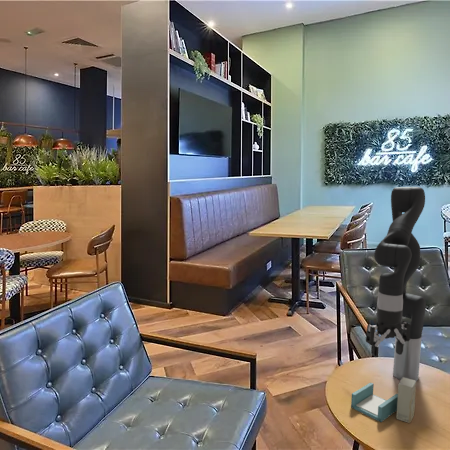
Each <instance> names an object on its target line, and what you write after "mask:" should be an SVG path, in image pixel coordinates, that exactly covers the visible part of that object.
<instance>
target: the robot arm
mask: <svg viewBox="0 0 450 450" xmlns="http://www.w3.org/2000/svg"><path fill="white" fill-rule="evenodd" d="M425 193H426V192H425V190H424V188H422V187H420V186H400V187H399V186H398V187H394V188H393V189H392V190H391V194H390V207H391V216H392V217H391V218H392V222H391V223H390V225H389V226H388V227H389V228H388V230H387V232H386V233H387V234H386V235H385V237H384V238H383V239H382V240H381V241H380V242H379V243H378V244H377V246H376V248H375V249H374V255H373V256H374V257H373V258H374V261H375V262H376V263H377V264H378V265H379V266H383V267H390V268H391V267H392V268H393V267H394V269H393V270H394V271H393V272H384V273H382V274H380V276H379V279H378V280H379V282H378V295H377V301H376V303H377V304H376V324H375V325H374V324H373V325H371V324H367V326H366V335H365V342H366V343H367V344H369V346H371V347H370V348H371V350H370V352H371V355H372V356H373V357H374V358H379V347H380V346H379V345H380V344H381V343H382V342H383V341H384V340H385V339H390V338H391V339H393V338H394V339H395V341H394V352H393V353H394V355H393V356H394V357H393V367H392V375H393V377H394V378H396V379H397V380H399V381H400V380H401V379H402V377H405V378H409V379H412V380H416V382H417V381H418V380H419V374H420V362H421V351H422V350H421V348H422V336H423V330H424V323H425V314H426V307H427V303H426V300H425V298H424V297H423V296H421V295H416V294H413V293H408V292H407V283H408V281H410V279H411V277H412V276H413V275H414V274H415V273H416V271H417V270H418V268H419V267H420V264H421V246H420V243H419V241H418V240H417V238H416V237H415V235H414V234H413V229H414V227H415V225H416V224H417V222H418V220H419V218H420V216H421V214H422V213H423V211H424V208H425V204H426V194H425ZM403 318H407V319H411V320H410V322H406V321H404V320H403Z"/></svg>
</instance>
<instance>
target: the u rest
mask: <svg viewBox="0 0 450 450" xmlns="http://www.w3.org/2000/svg"><path fill="white" fill-rule="evenodd" d="M397 401H398V393H395V394H393V395H392V396H391V397H390V398H388V399H384V398H383V397H380V396H378V395H376V394H374V383H373V382H369V383H367V384H366V385H364V386H363V387H361V388H359V389H357V390H355V391H354V392H352V393H351V401H350V402H351V403H350V404H351V405H350V408H351V409H353V410H355V411H357V412H359V413H361V414H364V415H366V416H367V417H370V418H371V419H374V420H375V421H378V422H380V423H382V422H384V421H385V420H386V419H388V418H389V417H390V416H391V415H393V414H394V413H397Z"/></svg>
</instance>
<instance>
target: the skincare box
mask: <svg viewBox="0 0 450 450" xmlns="http://www.w3.org/2000/svg"><path fill="white" fill-rule="evenodd" d="M397 385H398V386H397V387H398V388H397V394H398V401H397V411H396V417H395V418H396V420H399V421H402V422H404V423H407V424H410V423H412V420H413V419H414V416H415V408H416V407H415V405H416V390H417V389H416V387H417V381H416V380H412V379H409V378H405V377H402V379H401V380H399V383H398V384H397Z"/></svg>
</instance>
